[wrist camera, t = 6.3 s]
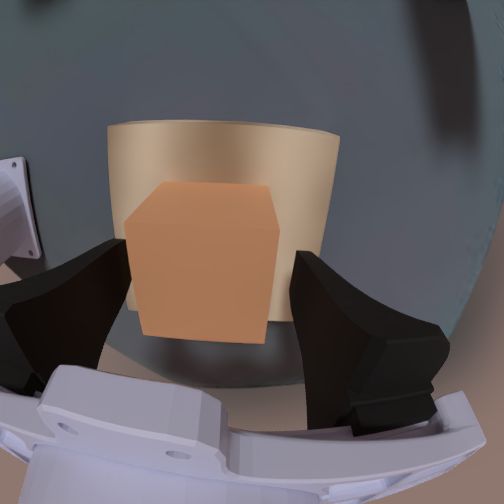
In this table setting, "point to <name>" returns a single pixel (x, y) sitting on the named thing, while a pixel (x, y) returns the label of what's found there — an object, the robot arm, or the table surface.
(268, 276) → the orange cube
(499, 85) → the table surface
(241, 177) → the birch block
